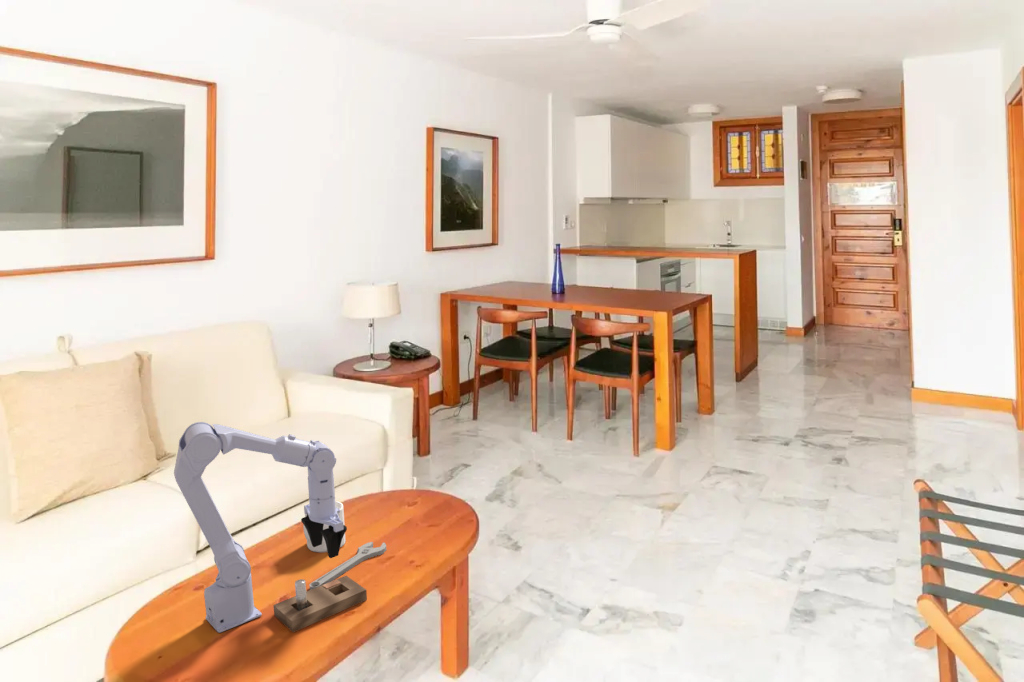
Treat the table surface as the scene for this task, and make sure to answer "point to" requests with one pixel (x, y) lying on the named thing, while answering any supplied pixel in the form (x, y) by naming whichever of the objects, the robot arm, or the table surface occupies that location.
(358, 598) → the dock board
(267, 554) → the table surface
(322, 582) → the adjustable wrench
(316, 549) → the mug
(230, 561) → the robot arm
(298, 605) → the steel pin
